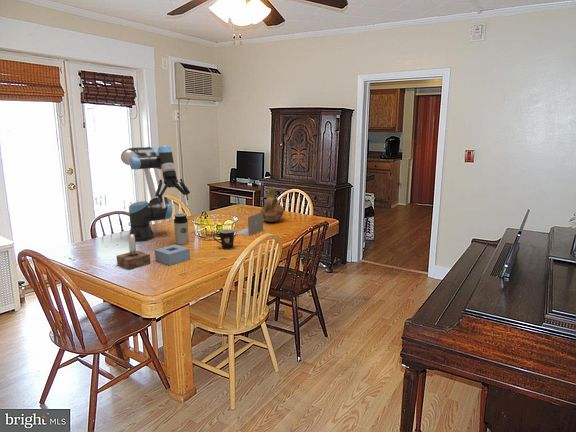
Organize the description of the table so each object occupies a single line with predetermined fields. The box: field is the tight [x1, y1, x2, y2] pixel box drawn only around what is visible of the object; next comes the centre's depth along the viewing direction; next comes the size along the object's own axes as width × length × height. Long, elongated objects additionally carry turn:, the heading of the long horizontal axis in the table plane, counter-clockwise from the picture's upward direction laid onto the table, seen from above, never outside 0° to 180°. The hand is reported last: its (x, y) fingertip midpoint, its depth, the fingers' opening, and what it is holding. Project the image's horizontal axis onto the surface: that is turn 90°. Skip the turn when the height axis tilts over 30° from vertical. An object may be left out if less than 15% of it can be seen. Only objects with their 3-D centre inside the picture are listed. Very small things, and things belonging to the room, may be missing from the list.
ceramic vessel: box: [259, 187, 285, 223], centre depth 306 cm, size 17×26×25 cm, turn 172°
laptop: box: [235, 211, 264, 237], centre depth 278 cm, size 18×12×13 cm
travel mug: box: [173, 212, 190, 246], centre depth 252 cm, size 8×8×18 cm
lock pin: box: [127, 234, 137, 257], centre depth 214 cm, size 3×3×15 cm
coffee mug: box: [212, 228, 235, 250], centre depth 243 cm, size 12×9×10 cm
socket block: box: [154, 243, 191, 266], centre depth 222 cm, size 13×13×6 cm
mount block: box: [116, 249, 151, 271], centre depth 216 cm, size 12×12×5 cm
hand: (175, 207), depth 238 cm, fingers open, 13 cm apart
